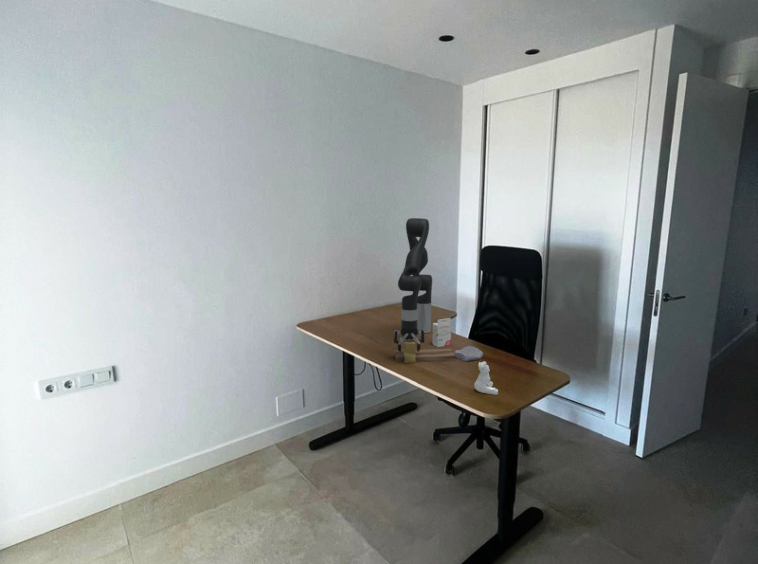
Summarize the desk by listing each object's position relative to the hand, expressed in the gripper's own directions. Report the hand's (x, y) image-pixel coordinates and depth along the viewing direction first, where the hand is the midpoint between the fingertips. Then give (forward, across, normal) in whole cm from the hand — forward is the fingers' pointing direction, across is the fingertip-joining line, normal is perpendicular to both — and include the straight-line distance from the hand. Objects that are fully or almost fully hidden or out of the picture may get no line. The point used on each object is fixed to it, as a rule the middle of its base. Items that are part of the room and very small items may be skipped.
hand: (408, 351), depth 200 cm
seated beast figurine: (+5, -26, +34) cm, 43 cm away
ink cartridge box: (+5, -20, -20) cm, 29 cm away
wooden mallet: (+4, 0, -3) cm, 5 cm away
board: (+4, -8, -3) cm, 9 cm away
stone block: (+5, -30, -2) cm, 30 cm away
